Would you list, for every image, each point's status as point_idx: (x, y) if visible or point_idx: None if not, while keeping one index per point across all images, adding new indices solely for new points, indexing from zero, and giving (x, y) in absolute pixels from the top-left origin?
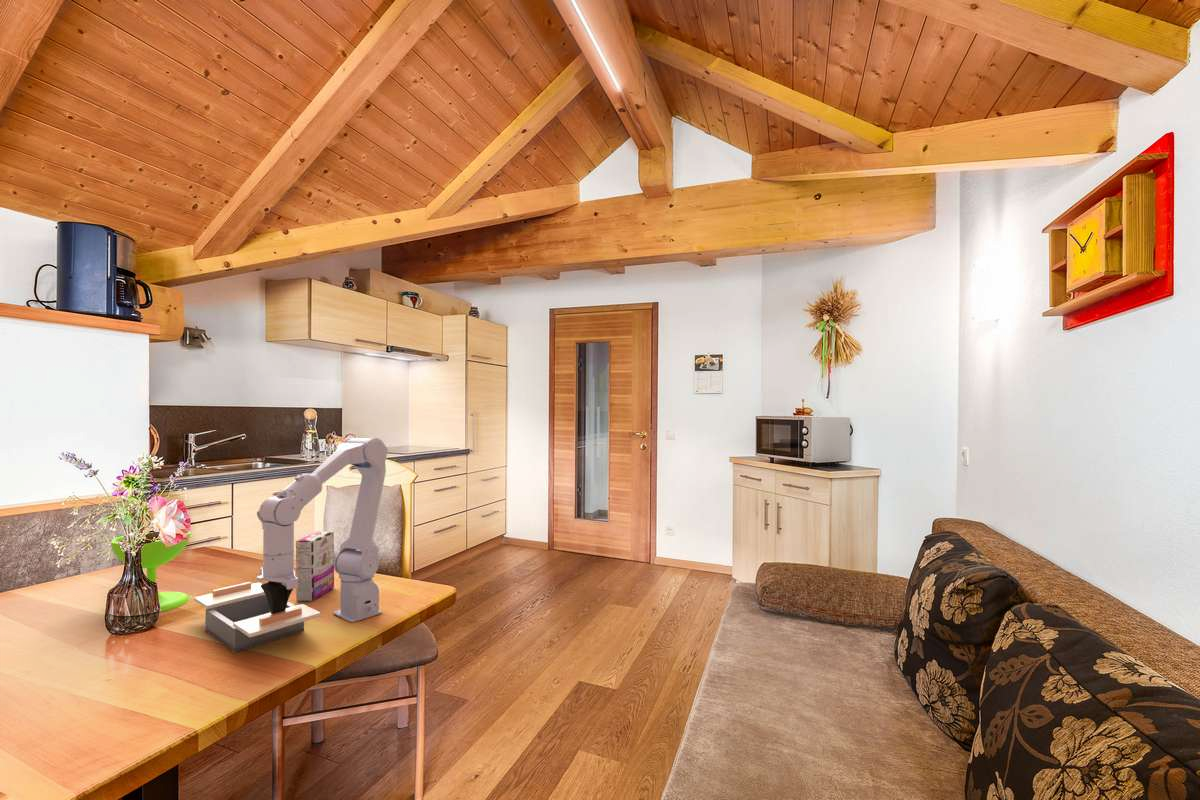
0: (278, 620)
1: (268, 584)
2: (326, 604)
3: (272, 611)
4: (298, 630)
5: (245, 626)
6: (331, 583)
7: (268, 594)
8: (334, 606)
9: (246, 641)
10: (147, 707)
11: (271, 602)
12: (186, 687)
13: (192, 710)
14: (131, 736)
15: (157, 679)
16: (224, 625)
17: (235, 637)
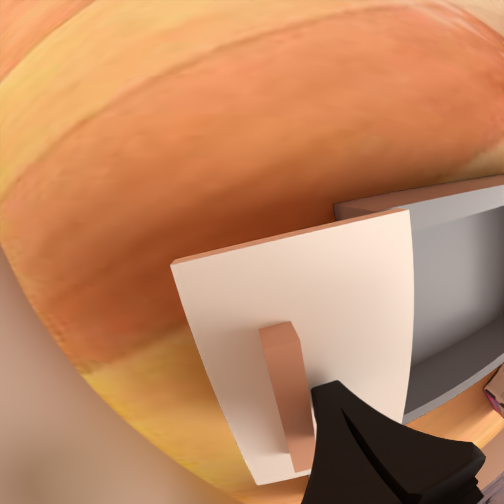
0: (274, 395)
1: (437, 498)
2: (452, 414)
3: (321, 403)
4: None
5: (313, 256)
6: (499, 413)
7: (362, 472)
8: (431, 429)
9: None
10: (96, 12)
11: (329, 441)
12: (140, 64)
13: (13, 105)
14: (11, 32)
15: (264, 9)
16: (459, 190)
17: (358, 210)
